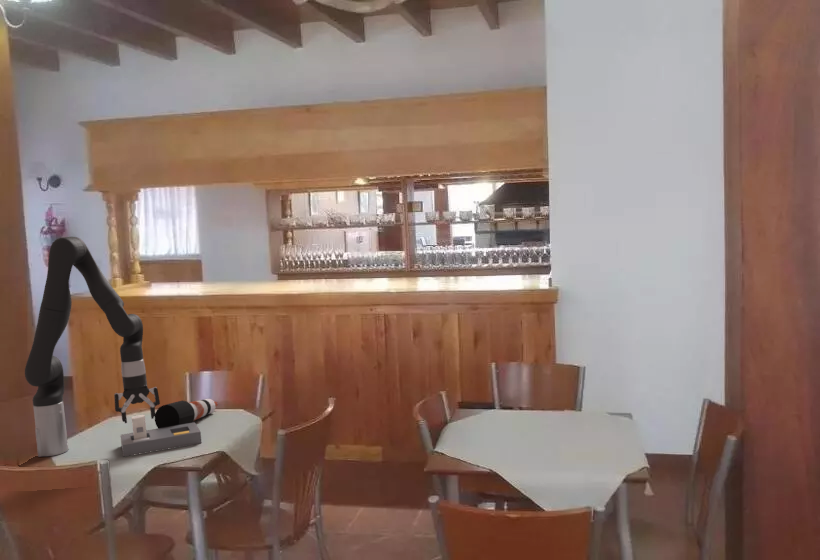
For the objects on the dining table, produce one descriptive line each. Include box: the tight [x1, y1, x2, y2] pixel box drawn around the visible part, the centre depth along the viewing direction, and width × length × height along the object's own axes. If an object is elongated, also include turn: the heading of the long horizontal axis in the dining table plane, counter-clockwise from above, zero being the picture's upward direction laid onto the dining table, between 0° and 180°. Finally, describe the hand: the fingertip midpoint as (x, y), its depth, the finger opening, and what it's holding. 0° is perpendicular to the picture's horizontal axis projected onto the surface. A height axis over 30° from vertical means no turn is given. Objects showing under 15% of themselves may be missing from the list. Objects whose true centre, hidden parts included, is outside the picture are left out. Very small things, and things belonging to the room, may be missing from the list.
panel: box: [120, 421, 203, 457], centre depth 253 cm, size 25×14×4 cm, turn 114°
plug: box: [131, 414, 147, 440], centre depth 249 cm, size 4×5×11 cm
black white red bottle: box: [154, 398, 219, 429], centre depth 280 cm, size 10×34×10 cm, turn 163°
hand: (139, 420), depth 249 cm, fingers open, 8 cm apart
